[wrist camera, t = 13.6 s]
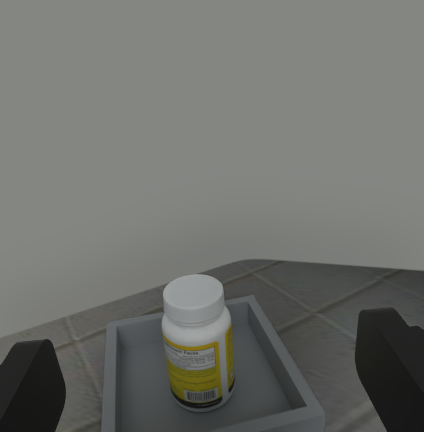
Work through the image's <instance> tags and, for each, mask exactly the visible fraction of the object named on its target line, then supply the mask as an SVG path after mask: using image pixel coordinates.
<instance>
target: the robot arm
mask: <svg viewBox="0 0 424 432" xmlns="http://www.w3.org/2000/svg"><path fill="white" fill-rule="evenodd" d="M355 363H356V369H357V373H358V376H359V378H360V381H361V383H362V385H363V386H364V388H365V390H366V392H367V394H368V396H369V398H370V400H371V402H372V404H373V405H374V407H375V409H376V411H377V413H378V415H379V417H380V419H381V421H382V423H383V424H384V426H385V428H386V430H387V432H424V330H423V329H421V328H420V327H418V326H411V327H409V326H408V325H407V324H406V322H405V321H404V320H403V319H402V317H401V316H400V315H399V314H398V313H397V311H396V310H395V309H393V308H379V309H369V310H362V311H361V312H360V313H359V318H358V329H357V339H356V349H355ZM65 398H66V387H65V382H64V379H63V375H62V372H61V369H60V366H59V363H58V360H57V356H56V353H55V350H54V347H53V344H52V342H51V341H50V340H48V339H45V340H35V341H24V342H17V343H16V344H15V345H14V346H13V347H12V348H11V350H10V352H9V353H8V355H7V356H6V358H5V360H4V361H3V363H2V364H1V365H0V432H55V430H56V428H57V425H58V422H59V419H60V417H61V414H62V411H63V408H64V404H65Z"/></svg>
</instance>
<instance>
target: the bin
mask: <svg viewBox="0 0 424 432" xmlns="http://www.w3.org/2000/svg"><path fill="white" fill-rule="evenodd" d="M224 301H225V306H226V307H227V308H228V310H229V312H230V315H231V324H232V341H233V357H234V374H235V387H234V391H233V393H232V395H231V396H230V398H229V399H228V400H227V401H226V402H225V403H224V404H223V405H222V406H220V407H219V408H217V409H214V410H212V411H208V412H194V411H190V410H187V409H185V408H183V407H182V406H180V405H179V404H178V403H177V402H176V401H175V400H174V398H173V396H172V393H171V388H170V382H169V375H168V369H167V362H166V355H165V348H164V341H163V334H162V318H163V316H164V314H165V312H160V313H154V314H149V315H144V316H139V317H133V318H128V319H123V320H117V321H112V322H107V329H106V347H105V365H104V383H103V401H102V419H101V432H325V421H326V413H325V412H324V410H323V408H322V407H321V405H320V403H319V402H318V400H317V398H316V397H315V395H314V394H313V392H312V390H311V389H310V387H309V385H308V384H307V382H306V380H305V379H304V377H303V375H302V374H301V372H300V371H299V369H298V367H297V366H296V364H295V362H294V361H293V359H292V357H291V356H290V354H289V352H288V351H287V349H286V348H285V346H284V344H283V343H282V341H281V339H280V338H279V336H278V334H277V333H276V331H275V329H274V328H273V326H272V325H271V323H270V321H269V320H268V318H267V316H266V315H265V313H264V311H263V310H262V308H261V307H260V305H259V303H258V302H257V300H256V298H255V297H254V295H250V296H245V297H239V298H234V299H229V300H224Z"/></svg>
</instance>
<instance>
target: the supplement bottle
mask: <svg viewBox="0 0 424 432" xmlns="http://www.w3.org/2000/svg"><path fill="white" fill-rule="evenodd" d="M163 302H164V311H165V314H164V316H163V318H162V334H163V341H164V348H165V355H166V362H167V369H168V375H169V382H170V388H171V393H172V396H173V398H174V400H175V401H176V402H177V403H178V404H179V405H180V406H182V407H183V408H185V409H187V410H190V411H194V412H208V411H212V410H214V409H217V408H219V407H220V406H222V405H223V404H224V403H225V402H226V401H227V400H228V399H229V398H230V396H231V395H232V393H233V391H234V387H235V374H234V357H233V341H232V324H231V315H230V312H229V310H228V308H227V307H226V306H225V301H224V290H223V286H222V284H221V283H220V282H219V281H218V280H217V279H215V278H213V277H211V276H208V275H202V274H193V275H186V276H182V277H179V278H177V279H175V280H173V281H172V282H170V283H169V284H168V285H167V286H166V287H165V289H164V291H163Z"/></svg>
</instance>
